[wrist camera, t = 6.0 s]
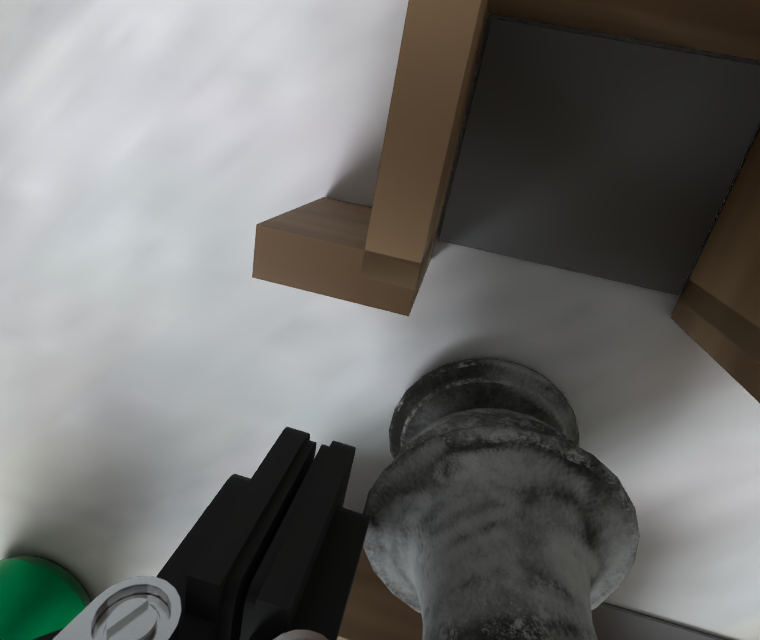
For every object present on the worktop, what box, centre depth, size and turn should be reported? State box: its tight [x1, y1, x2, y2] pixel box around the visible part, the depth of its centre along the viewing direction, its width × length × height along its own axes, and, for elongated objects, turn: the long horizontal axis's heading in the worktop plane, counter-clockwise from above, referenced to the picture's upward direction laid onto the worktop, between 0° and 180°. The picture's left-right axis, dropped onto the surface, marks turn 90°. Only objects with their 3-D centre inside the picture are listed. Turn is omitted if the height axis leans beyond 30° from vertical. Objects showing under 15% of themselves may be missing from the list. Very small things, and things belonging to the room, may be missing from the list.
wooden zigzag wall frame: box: [252, 0, 760, 640], centre depth 11 cm, size 22×21×4 cm
